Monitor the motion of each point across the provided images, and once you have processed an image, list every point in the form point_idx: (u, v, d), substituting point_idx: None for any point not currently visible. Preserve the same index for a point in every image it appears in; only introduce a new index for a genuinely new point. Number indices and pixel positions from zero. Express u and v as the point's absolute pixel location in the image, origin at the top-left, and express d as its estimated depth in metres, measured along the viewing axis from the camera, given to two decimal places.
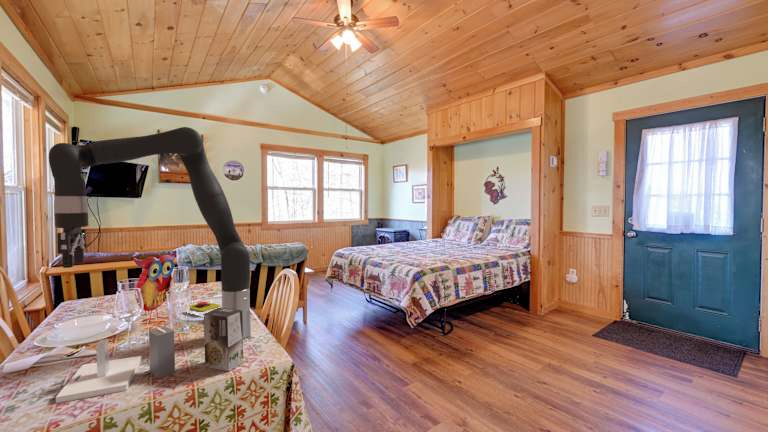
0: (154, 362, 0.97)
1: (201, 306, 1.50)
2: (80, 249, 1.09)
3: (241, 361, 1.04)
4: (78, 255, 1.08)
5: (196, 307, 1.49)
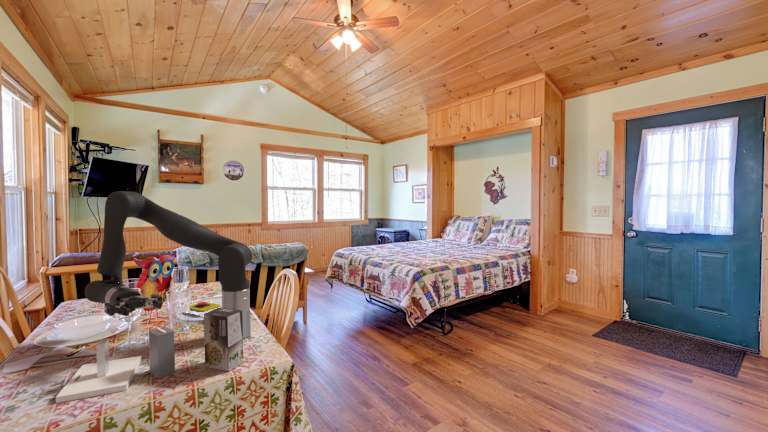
0: (154, 362, 0.97)
1: (201, 306, 1.50)
2: None
3: (241, 361, 1.04)
4: (155, 304, 1.09)
5: (196, 307, 1.49)
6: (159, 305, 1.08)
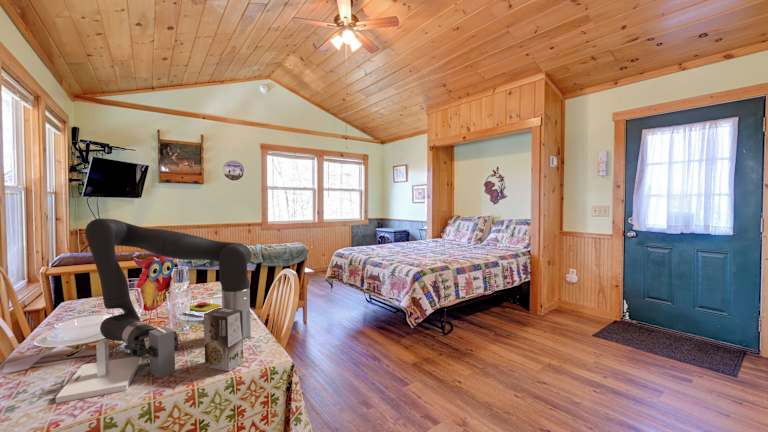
0: (154, 362, 0.97)
1: (202, 306, 1.49)
2: None
3: (241, 361, 1.04)
4: None
5: (197, 307, 1.48)
6: (175, 347, 0.99)
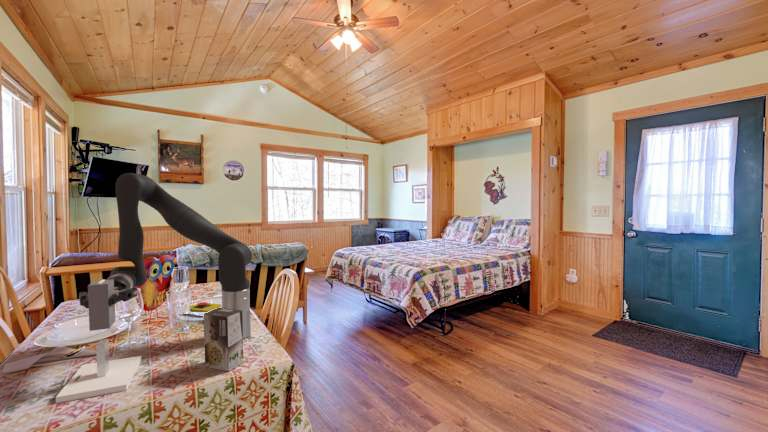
0: None
1: (202, 306, 1.49)
2: None
3: (241, 361, 1.04)
4: None
5: (197, 308, 1.48)
6: (109, 302, 0.92)
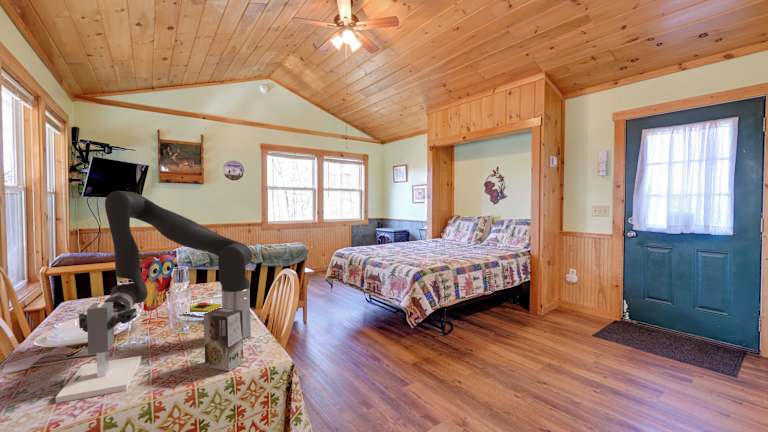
0: None
1: (202, 307, 1.49)
2: None
3: (241, 361, 1.04)
4: None
5: (198, 308, 1.48)
6: (108, 325, 0.93)
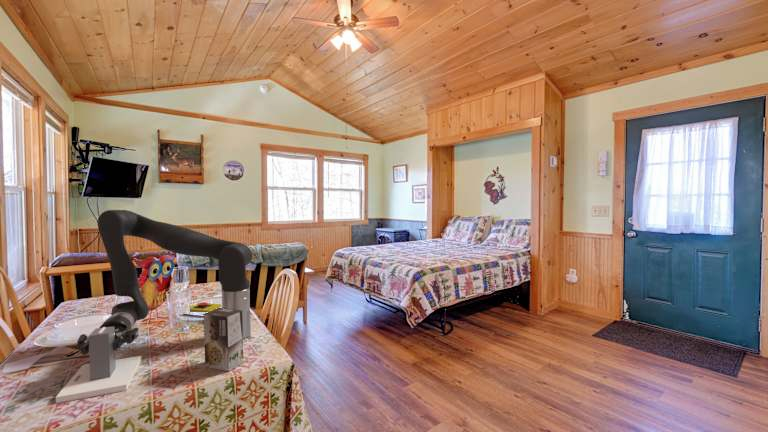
0: None
1: (203, 307, 1.49)
2: None
3: (241, 361, 1.04)
4: None
5: (198, 308, 1.48)
6: (113, 346, 0.94)
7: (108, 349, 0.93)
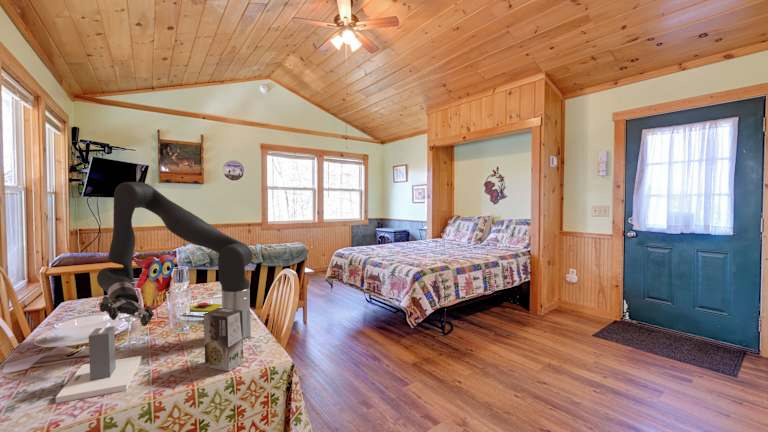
0: None
1: (203, 307, 1.49)
2: (143, 315, 1.11)
3: (241, 361, 1.04)
4: (143, 319, 1.09)
5: (198, 308, 1.48)
6: (145, 322, 1.08)
7: (108, 349, 0.93)
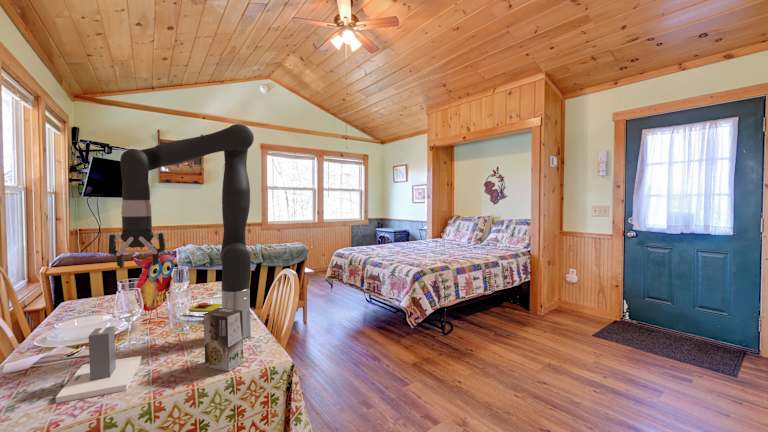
0: None
1: (204, 307, 1.49)
2: (122, 253, 1.07)
3: (241, 361, 1.04)
4: (122, 260, 1.07)
5: (199, 308, 1.48)
6: None
7: (108, 349, 0.93)
